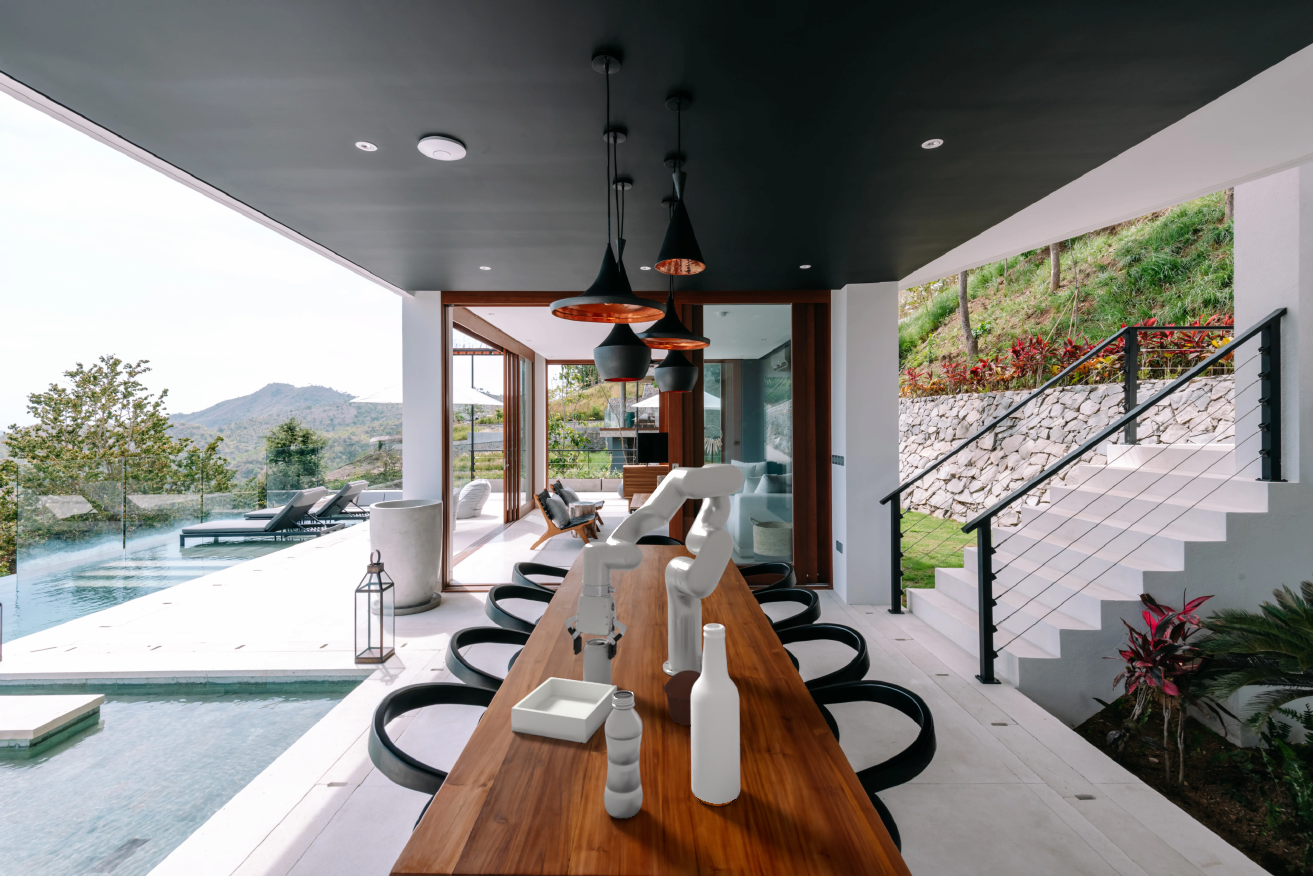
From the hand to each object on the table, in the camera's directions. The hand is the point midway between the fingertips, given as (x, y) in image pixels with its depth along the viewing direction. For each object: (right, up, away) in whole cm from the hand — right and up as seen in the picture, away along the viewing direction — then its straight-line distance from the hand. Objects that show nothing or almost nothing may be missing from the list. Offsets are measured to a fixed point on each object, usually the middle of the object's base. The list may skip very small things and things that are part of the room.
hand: (594, 655), depth 148 cm
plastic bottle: (+11, -7, -51) cm, 53 cm away
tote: (-5, -8, -17) cm, 19 cm away
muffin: (+24, -8, -17) cm, 30 cm away
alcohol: (+27, -7, -46) cm, 54 cm away
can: (+1, -9, 0) cm, 9 cm away
